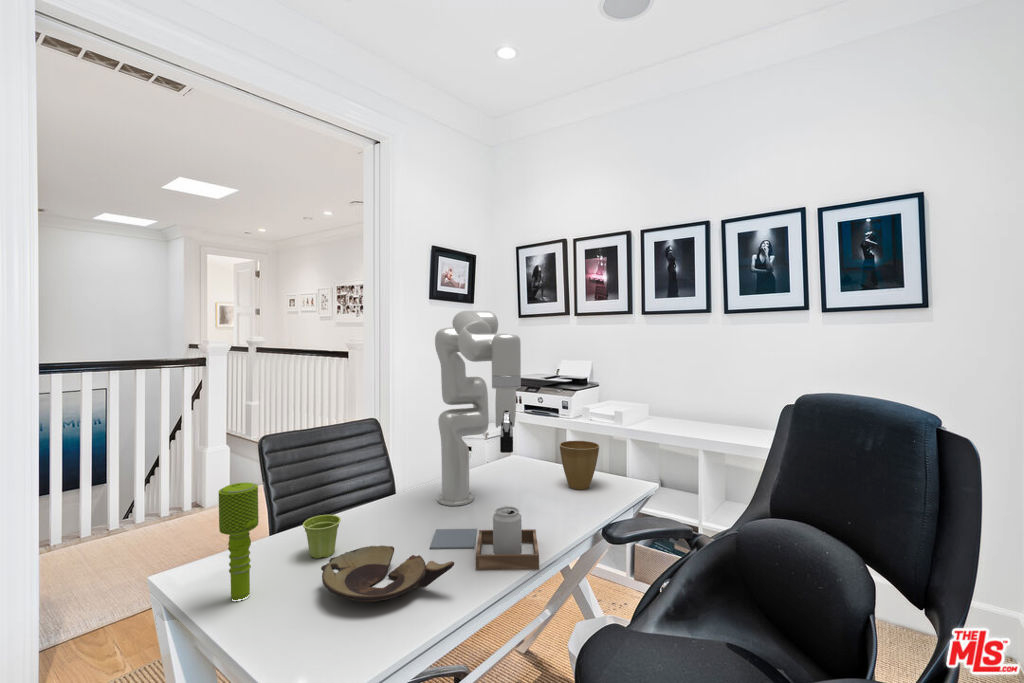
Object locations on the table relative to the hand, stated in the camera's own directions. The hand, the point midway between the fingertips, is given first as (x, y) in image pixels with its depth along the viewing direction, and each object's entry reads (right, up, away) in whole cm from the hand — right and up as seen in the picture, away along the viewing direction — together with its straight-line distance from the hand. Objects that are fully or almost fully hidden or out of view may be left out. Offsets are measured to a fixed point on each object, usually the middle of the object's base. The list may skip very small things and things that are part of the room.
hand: (506, 447), depth 127 cm
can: (0, -29, +1) cm, 28 cm away
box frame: (0, -28, +1) cm, 28 cm away
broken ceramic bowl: (-28, -29, -17) cm, 43 cm away
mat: (-15, -28, +10) cm, 34 cm away
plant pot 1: (-49, -29, +2) cm, 57 cm away
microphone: (-59, -29, -19) cm, 68 cm away
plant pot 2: (+27, -27, +56) cm, 68 cm away
